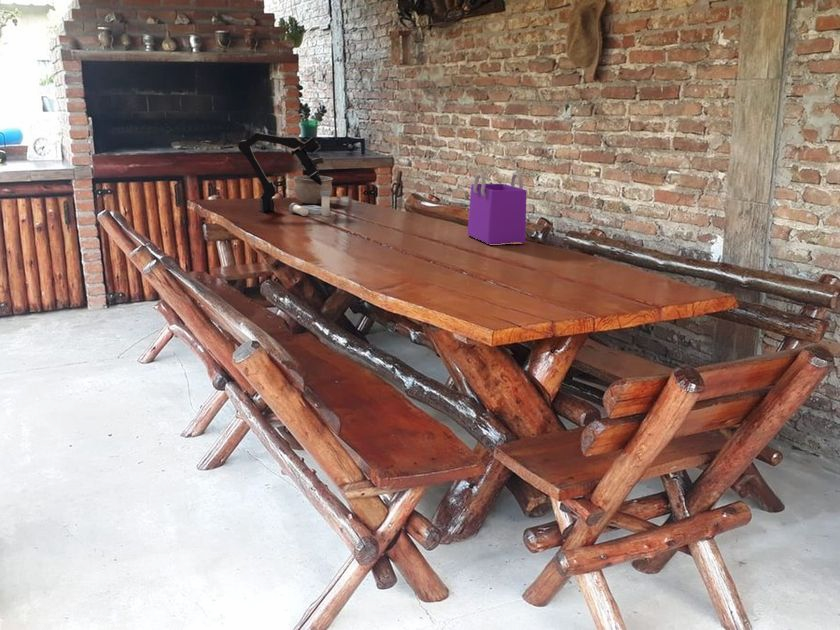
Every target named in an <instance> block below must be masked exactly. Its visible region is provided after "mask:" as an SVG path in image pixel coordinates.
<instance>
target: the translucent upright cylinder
mask: <svg viewBox="0 0 840 630" xmlns="http://www.w3.org/2000/svg"><path fill="white" fill-rule="evenodd" d="M320 195H321V196H322V203H321V207H322V214H321V217H330V213H329V209H330V197H329V196H332V193H331V191H320Z"/></svg>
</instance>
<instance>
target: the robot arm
mask: <svg viewBox="0 0 840 630" xmlns="http://www.w3.org/2000/svg"><path fill="white" fill-rule="evenodd" d="M259 141H261V142H265V143H272V144H277V145H278V144H279V145H282V146H284V147H286V148H289V149H293V150H291V154H290V155H291V157H293V156H295V157H296V158H297V159H298V161H299V163H300V165H301V166H302V167H303V169H304V171H305V172H306V173H305V175H307V176H308V177H309V178H310V179H312V180H313V181H315V182H316V183H318V184H319V185H322V181H321V178H320V176H321V175H320V174H319V171H320V168H319V166H318V165H319V164H320V165H321V164H323V165H324V164H325V160H324V157H323V156H320V155H317V156H316V157H315V158H313V157H311V156H310V155H309V154H313V153H315V152H317V151H318V150H320V149H321V147H320V145H319V143H318V142H317V141H316V139H315V137H310V138H309V139H308V140H306V141H305V142H304V141H300V140H299V139H298V138H297V137H295V136H279V135H273V134H268V133H266V134H265V133H261V132H259V131H258V132H254V134H252V135H251V136H250V137H248V138H247V139H245V140H244V139H243V140H241V141H240V142H238V146H237V148H238V150H239V152H241V154H242V155H243V156H244V157H245V158H246V160H247V161H248V163H249V165H250V167H251V168H252V170H253V171H254V173H255V175H256V176H257V178H258V180H259V182H260V184H261V186H262V189H263V193H262V194H261V195H260V200H259V209H258V211H259V212H262V213H272V212H273V213H275V212H276V210H275V202H274V199H273V198H274V197H275V196H276V194H277V186H275V184H274V181H273V180H269V179H268V178H267V176H266V174H265V173H264V170H263V168H261V167H262V166H261V165H260V163H259V162H258V159H256V157H255V155H254V151H253V149H252V146H253V145H254V144H255V143H257V142H259Z"/></svg>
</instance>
